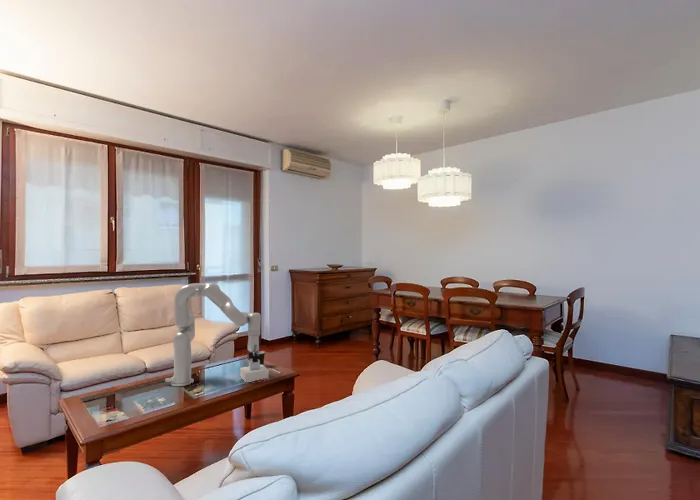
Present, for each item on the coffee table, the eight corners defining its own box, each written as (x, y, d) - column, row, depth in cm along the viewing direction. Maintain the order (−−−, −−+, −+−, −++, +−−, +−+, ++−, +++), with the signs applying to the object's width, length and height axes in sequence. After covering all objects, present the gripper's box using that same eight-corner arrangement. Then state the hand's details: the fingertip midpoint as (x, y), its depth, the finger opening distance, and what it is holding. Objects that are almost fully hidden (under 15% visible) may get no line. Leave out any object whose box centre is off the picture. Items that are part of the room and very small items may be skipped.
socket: (245, 383, 217) (245, 373, 217) (240, 377, 229) (240, 367, 229) (268, 379, 223) (268, 369, 223) (262, 373, 236) (262, 364, 236)
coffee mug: (267, 366, 252) (267, 352, 253) (258, 369, 245) (258, 354, 245) (255, 364, 258) (255, 350, 259) (246, 367, 251) (246, 352, 252)
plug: (250, 378, 223) (250, 362, 223) (248, 376, 226) (248, 360, 227) (259, 376, 226) (259, 360, 226) (258, 375, 229) (258, 359, 230)
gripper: (244, 330, 233) (244, 357, 232) (251, 335, 218) (250, 364, 217) (256, 330, 237) (255, 356, 236) (263, 334, 221) (262, 363, 221)
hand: (253, 360), depth 226 cm, fingers open, 9 cm apart
